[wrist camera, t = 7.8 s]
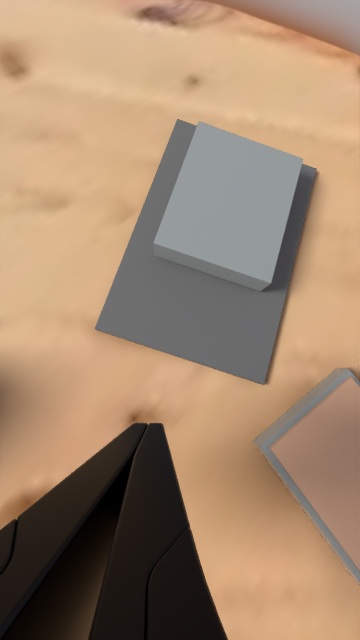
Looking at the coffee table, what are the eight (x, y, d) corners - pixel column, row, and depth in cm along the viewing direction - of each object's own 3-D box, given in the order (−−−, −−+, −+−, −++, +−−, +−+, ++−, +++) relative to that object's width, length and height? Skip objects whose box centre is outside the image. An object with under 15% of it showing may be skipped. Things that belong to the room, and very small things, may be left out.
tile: (271, 283, 17) (303, 158, 19) (153, 243, 17) (198, 121, 19) (258, 292, 19) (288, 179, 21) (153, 256, 19) (194, 145, 21)
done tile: (423, 485, 19) (456, 499, 17) (345, 569, 17) (370, 596, 15) (331, 368, 20) (351, 368, 18) (250, 439, 18) (261, 447, 16)
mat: (261, 384, 18) (264, 384, 18) (96, 329, 18) (94, 328, 18) (313, 172, 22) (316, 169, 22) (177, 123, 22) (177, 119, 21)
